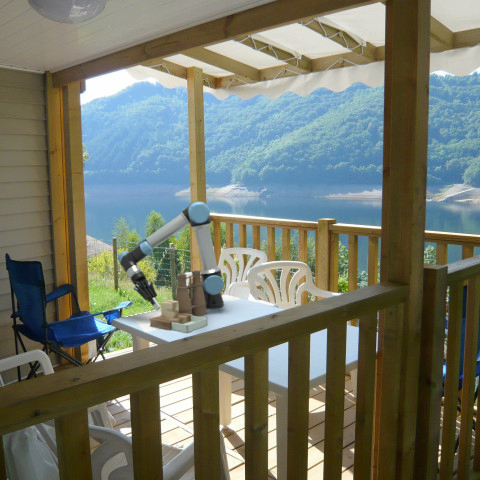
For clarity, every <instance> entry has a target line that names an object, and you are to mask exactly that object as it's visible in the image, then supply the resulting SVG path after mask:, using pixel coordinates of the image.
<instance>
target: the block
mask: <svg viewBox="0 0 480 480" xmlns="http://www.w3.org/2000/svg"><path fill="white" fill-rule="evenodd" d="M160 306H161V307H160V311H161V313H160V314H161V315H160V316H161V317H165V318H170V319H172V318H175V317H178V316H179V306H178V301H176V300H171V299H167V300H164V301H161V302H160Z"/></svg>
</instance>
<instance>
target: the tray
mask: <svg viewBox="0 0 480 480" xmlns="http://www.w3.org/2000/svg"><path fill="white" fill-rule="evenodd" d="M207 326H208V318H207V317H203V316H191V321H190V322H187V323H185V324H179V323H174V322H171V327H172V330H171V331H177V332H181V333H186V334H188V333H191V332H193V331H197V330H199V329H201V328H204V327H207Z"/></svg>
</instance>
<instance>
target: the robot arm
mask: <svg viewBox="0 0 480 480" xmlns="http://www.w3.org/2000/svg"><path fill="white" fill-rule="evenodd" d="M210 215H211V211H210V208H209V206H208V205H207V203H205V202H203V201H198V200H197V201H196V200H195V201H193V202H191V203H190V204H189V205H188V206H187V207H185V208H184V209H183V210H182V211H180V214H179V215H177V216H176V217H174V218H173V219H172V220H170V221H169V222H167V223H166V224H165V225H163V226H162V227H160V228H159V229H158V230H156V231H154V232H153V233H152V234H150V235H149V236H148V237H146V238H144V239H143V240H141V241H139V242H138V243H137V244H136V245H135V248H133V249H132V250H131V251H128V250H125V251H124V250H123V252H122V251H121V252H120V253H119V254H118V255H117V261H118V262H119V265H120V266H121V268H123V270H124V272H125V274H127V276H128V278H129V279H130V280H131V282H132V284H133V285H134V286H133V290H134V291H136V292H137V293H138V294H139V295H140V296H141V297H142V298H143V299H144V300H145V301H147V302H150V304H151V305H152V306H153V307H154V309H155V310H156V311H159V310H161V304H159V301H158V299H157V296H158V295H157V292H156V289H155V287H154V283H153V282H152V281H150V282H149V281H148V280H147V279H146V275H145V274H144V272H143V271H142V270H141V268H140V266H139V265H138V263H139V262H141V261H142V260H143V259H145V258H146V257H147V256H150V254H152V252H153V251H154V249H155V248H157V247H158V246H160V245H161V244H162V243H164V242H165V241H167V240H168V239H169V238H171V237H173V236H174V235H175V234H176V233H178V232H179V231H182V229H184V228H185V227H187V226H190V227H191V228H192V229H193V230H194V233H195V239H196V244H197V249H198V252H199V258H200V263H201V268H202V269H201V270H200V271H201V273H200V274H201V276H200V278H201V282H202V283H203V285H202V286H203V291H204V296H205V302H206V303H207V304H206V309H218V308H222V307H224V305H225V303H224V301H225V300H223V296H222V293H221V292H223V289H224V287H225V281H224V279H223V276H222V271H221V268H220V267H219V266H218V264H217V259H216V254H215V249H214V243H213V239H212V233H211V230H210V229H211V228H210V226H211V224H212V221H211V216H210Z"/></svg>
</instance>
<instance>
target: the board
mask: <svg viewBox="0 0 480 480" xmlns="http://www.w3.org/2000/svg"><path fill="white" fill-rule="evenodd" d="M191 316H193V315H192V314H186V313H179V316H178V317H175V318H172V319H170V318H165V317H161V315H158V316H155V317H152V318H150V319H149V324H150V325H149V326H150V327H152V328H158V329H162V330H168V331H173V330H172V327H171V322H174V323H179V324H185V323H187V322H190V321H191Z"/></svg>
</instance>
